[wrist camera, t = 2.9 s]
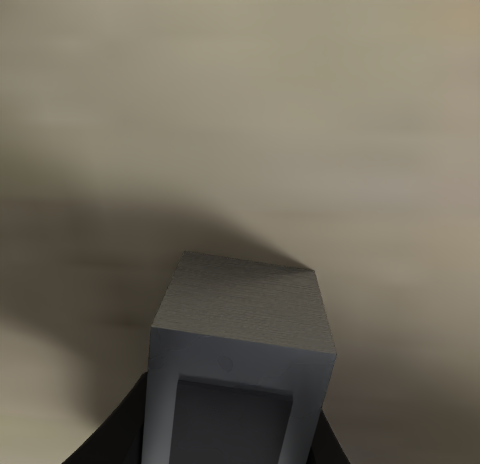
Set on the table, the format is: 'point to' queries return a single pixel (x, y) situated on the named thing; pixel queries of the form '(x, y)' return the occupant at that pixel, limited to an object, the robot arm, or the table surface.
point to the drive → (236, 364)
